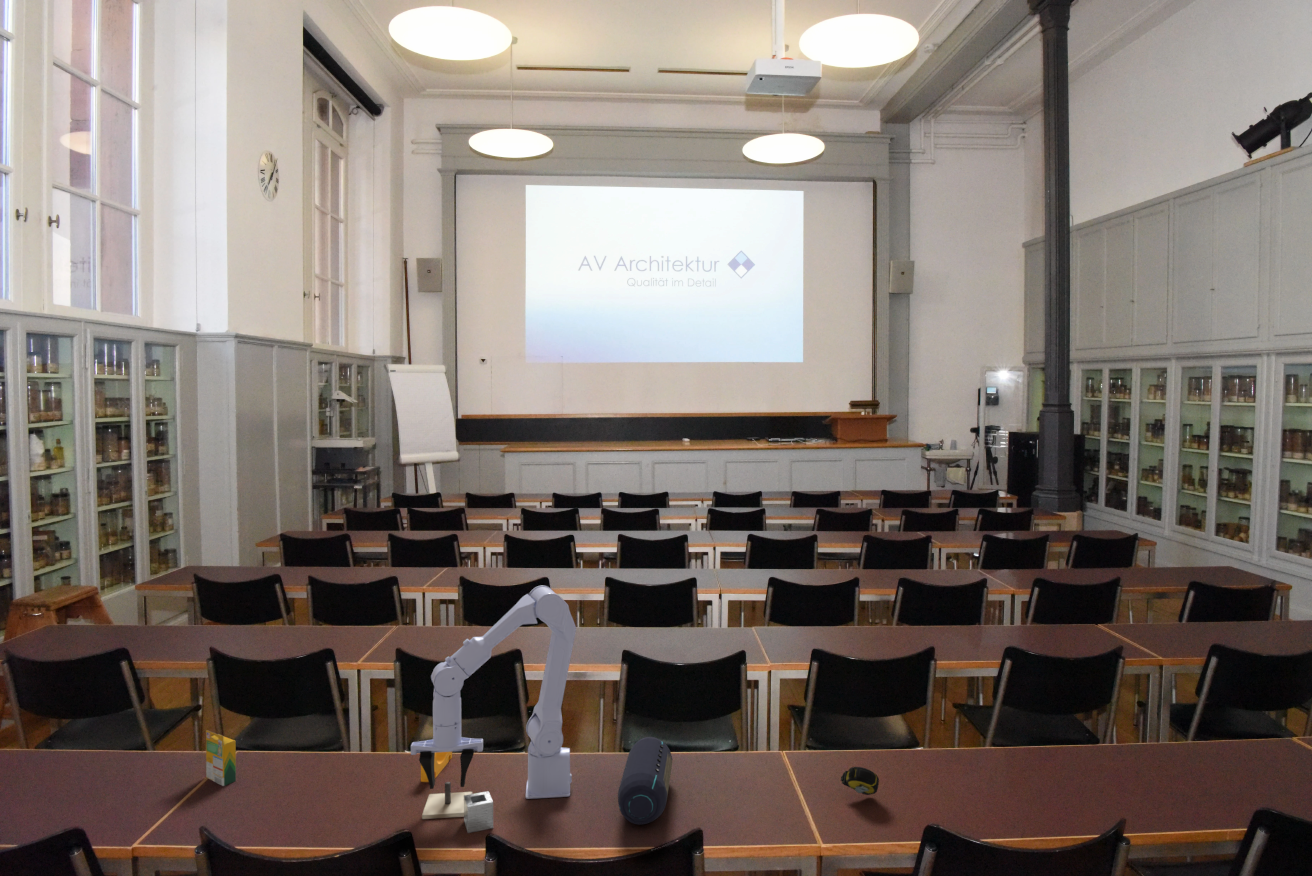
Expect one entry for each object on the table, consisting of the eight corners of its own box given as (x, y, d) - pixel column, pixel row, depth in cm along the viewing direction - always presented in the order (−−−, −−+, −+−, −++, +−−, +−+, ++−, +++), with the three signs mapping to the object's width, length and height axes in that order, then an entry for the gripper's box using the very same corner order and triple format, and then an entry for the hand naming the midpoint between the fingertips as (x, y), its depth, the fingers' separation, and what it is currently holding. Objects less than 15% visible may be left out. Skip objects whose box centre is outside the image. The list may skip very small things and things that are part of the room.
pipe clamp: (434, 760, 186) (434, 733, 186) (452, 761, 186) (451, 734, 185) (413, 783, 174) (413, 755, 174) (432, 784, 174) (431, 756, 173)
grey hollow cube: (488, 816, 159) (488, 791, 159) (493, 828, 155) (493, 802, 155) (463, 821, 157) (463, 795, 157) (467, 833, 153) (467, 806, 153)
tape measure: (868, 801, 168) (871, 784, 170) (882, 793, 162) (885, 775, 165) (838, 787, 168) (842, 770, 170) (852, 779, 163) (855, 762, 165)
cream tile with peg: (472, 795, 168) (472, 772, 168) (467, 816, 159) (467, 792, 159) (429, 797, 167) (429, 774, 167) (422, 819, 158) (421, 794, 158)
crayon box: (236, 783, 174) (236, 732, 174) (223, 789, 171) (222, 736, 171) (219, 775, 178) (218, 725, 178) (205, 781, 175) (205, 729, 175)
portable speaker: (665, 833, 153) (665, 782, 153) (615, 831, 154) (614, 780, 153) (673, 775, 178) (673, 731, 178) (630, 773, 179) (630, 730, 178)
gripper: (484, 712, 168) (484, 775, 168) (414, 715, 166) (415, 779, 166) (481, 725, 161) (481, 790, 161) (408, 728, 159) (409, 794, 159)
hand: (447, 785), depth 163 cm, fingers open, 6 cm apart
